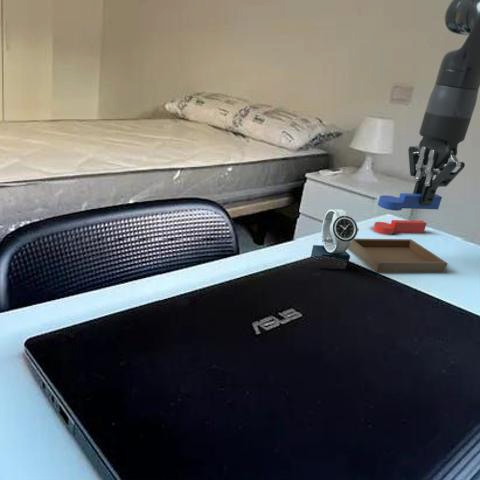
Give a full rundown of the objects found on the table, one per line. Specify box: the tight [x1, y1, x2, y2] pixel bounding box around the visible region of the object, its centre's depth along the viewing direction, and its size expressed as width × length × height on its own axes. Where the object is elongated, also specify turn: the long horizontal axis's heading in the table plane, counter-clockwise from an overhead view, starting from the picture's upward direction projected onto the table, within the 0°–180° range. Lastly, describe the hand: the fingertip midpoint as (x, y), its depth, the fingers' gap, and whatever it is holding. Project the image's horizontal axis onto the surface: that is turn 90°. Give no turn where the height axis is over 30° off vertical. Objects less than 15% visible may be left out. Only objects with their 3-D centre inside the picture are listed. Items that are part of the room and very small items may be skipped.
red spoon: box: [372, 219, 428, 236], centre depth 116 cm, size 12×4×3 cm, turn 99°
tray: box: [347, 238, 448, 273], centre depth 100 cm, size 15×12×2 cm
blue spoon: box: [377, 192, 443, 212], centre depth 96 cm, size 12×4×3 cm, turn 99°
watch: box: [310, 208, 360, 262], centre depth 94 cm, size 6×8×11 cm
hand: (420, 202), depth 97 cm, fingers closed on blue spoon, 1 cm apart
